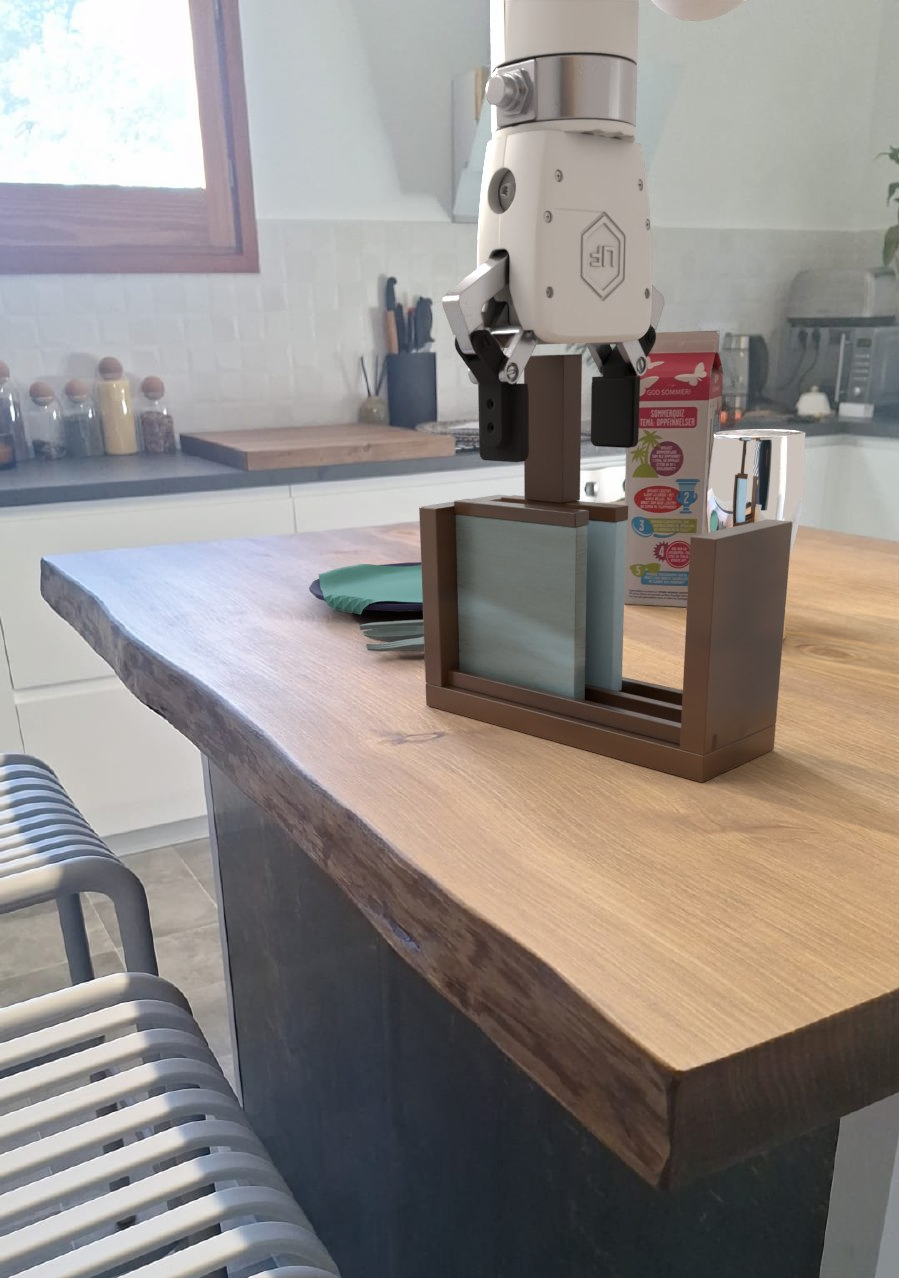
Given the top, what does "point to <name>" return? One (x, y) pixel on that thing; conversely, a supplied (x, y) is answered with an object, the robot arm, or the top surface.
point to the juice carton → (670, 465)
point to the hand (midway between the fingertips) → (561, 453)
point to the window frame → (556, 636)
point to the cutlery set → (377, 600)
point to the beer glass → (755, 478)
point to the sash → (577, 506)
